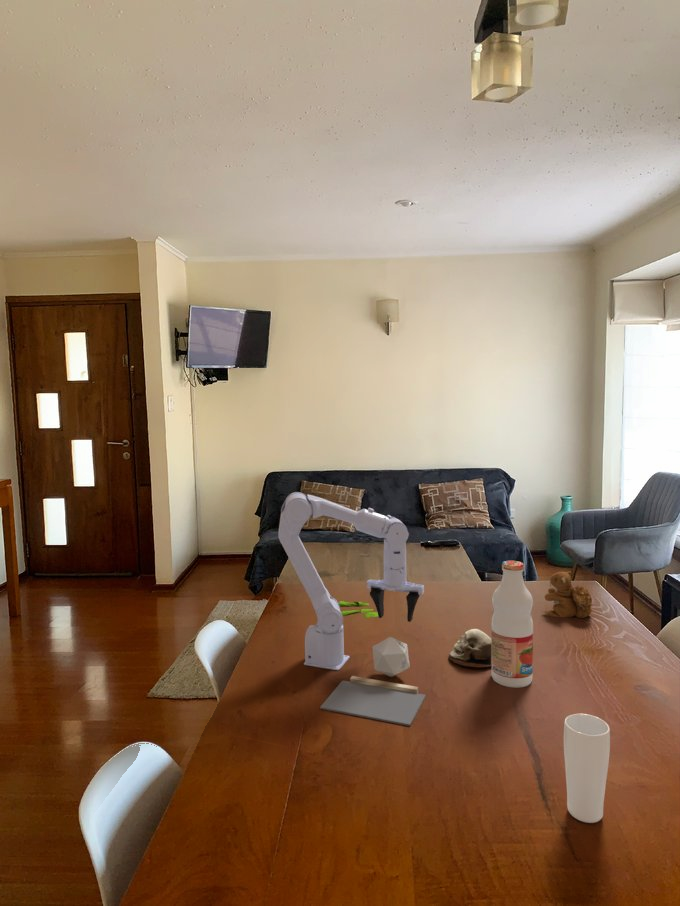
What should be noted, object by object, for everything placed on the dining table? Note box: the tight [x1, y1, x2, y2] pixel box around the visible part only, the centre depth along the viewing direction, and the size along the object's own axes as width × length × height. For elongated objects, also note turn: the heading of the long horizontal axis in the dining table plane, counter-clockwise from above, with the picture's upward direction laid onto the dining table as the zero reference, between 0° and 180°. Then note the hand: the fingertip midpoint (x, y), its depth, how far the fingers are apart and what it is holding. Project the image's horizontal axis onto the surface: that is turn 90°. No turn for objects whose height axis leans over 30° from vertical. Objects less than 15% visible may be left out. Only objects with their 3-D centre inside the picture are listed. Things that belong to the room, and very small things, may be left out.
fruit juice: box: [490, 560, 534, 689], centre depth 141 cm, size 9×9×28 cm
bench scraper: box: [319, 680, 426, 727], centre depth 133 cm, size 20×13×1 cm, turn 68°
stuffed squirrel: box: [544, 571, 593, 619], centre depth 182 cm, size 10×14×13 cm
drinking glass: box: [563, 713, 611, 824], centre depth 96 cm, size 7×7×15 cm
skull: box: [448, 628, 491, 668], centre depth 153 cm, size 12×10×10 cm
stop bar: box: [349, 675, 419, 694], centre depth 140 cm, size 16×1×1 cm, turn 68°
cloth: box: [338, 600, 379, 619], centre depth 191 cm, size 20×22×2 cm
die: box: [372, 636, 411, 678], centre depth 144 cm, size 8×9×10 cm
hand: (395, 618), depth 154 cm, fingers open, 7 cm apart
